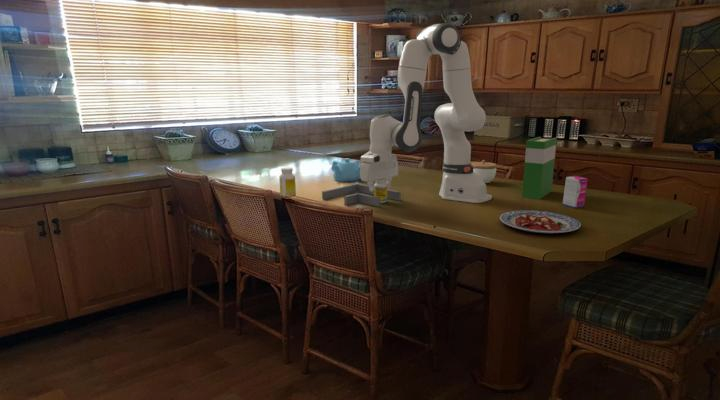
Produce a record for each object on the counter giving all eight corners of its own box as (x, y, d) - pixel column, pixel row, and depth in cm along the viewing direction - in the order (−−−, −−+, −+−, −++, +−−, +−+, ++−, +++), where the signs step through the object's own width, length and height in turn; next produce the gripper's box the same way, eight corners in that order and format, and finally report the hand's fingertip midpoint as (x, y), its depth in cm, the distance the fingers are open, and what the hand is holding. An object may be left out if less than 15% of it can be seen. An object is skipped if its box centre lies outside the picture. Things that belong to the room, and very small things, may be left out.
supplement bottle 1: (299, 197, 203) (298, 167, 200) (290, 200, 197) (289, 170, 194) (285, 195, 206) (284, 166, 203) (277, 199, 200) (275, 169, 197)
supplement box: (574, 208, 183) (577, 179, 180) (562, 205, 188) (565, 176, 185) (584, 206, 185) (588, 178, 183) (572, 203, 190) (575, 175, 188)
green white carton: (534, 189, 215) (539, 136, 209) (551, 191, 211) (556, 137, 205) (522, 196, 202) (526, 140, 196) (539, 199, 197) (545, 141, 191)
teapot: (360, 176, 248) (359, 155, 245) (365, 181, 233) (365, 160, 231) (331, 177, 245) (330, 156, 243) (334, 183, 231) (334, 161, 228)
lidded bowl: (499, 181, 232) (500, 159, 230) (491, 186, 222) (492, 163, 219) (474, 178, 239) (475, 157, 236) (465, 183, 229) (466, 160, 226)
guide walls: (400, 200, 197) (401, 192, 196) (366, 210, 182) (366, 201, 181) (357, 191, 213) (357, 183, 213) (322, 199, 198) (322, 191, 198)
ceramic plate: (490, 230, 157) (490, 221, 156) (510, 212, 178) (510, 204, 178) (573, 243, 144) (574, 234, 143) (584, 222, 165) (585, 214, 165)
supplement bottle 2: (386, 199, 198) (386, 177, 195) (387, 202, 192) (388, 179, 190) (373, 200, 197) (373, 177, 195) (374, 203, 192) (374, 180, 190)
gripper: (390, 152, 199) (389, 184, 203) (357, 157, 185) (357, 191, 188) (402, 154, 195) (401, 186, 199) (369, 159, 181) (369, 194, 184)
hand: (379, 189), depth 193 cm, fingers open, 8 cm apart
